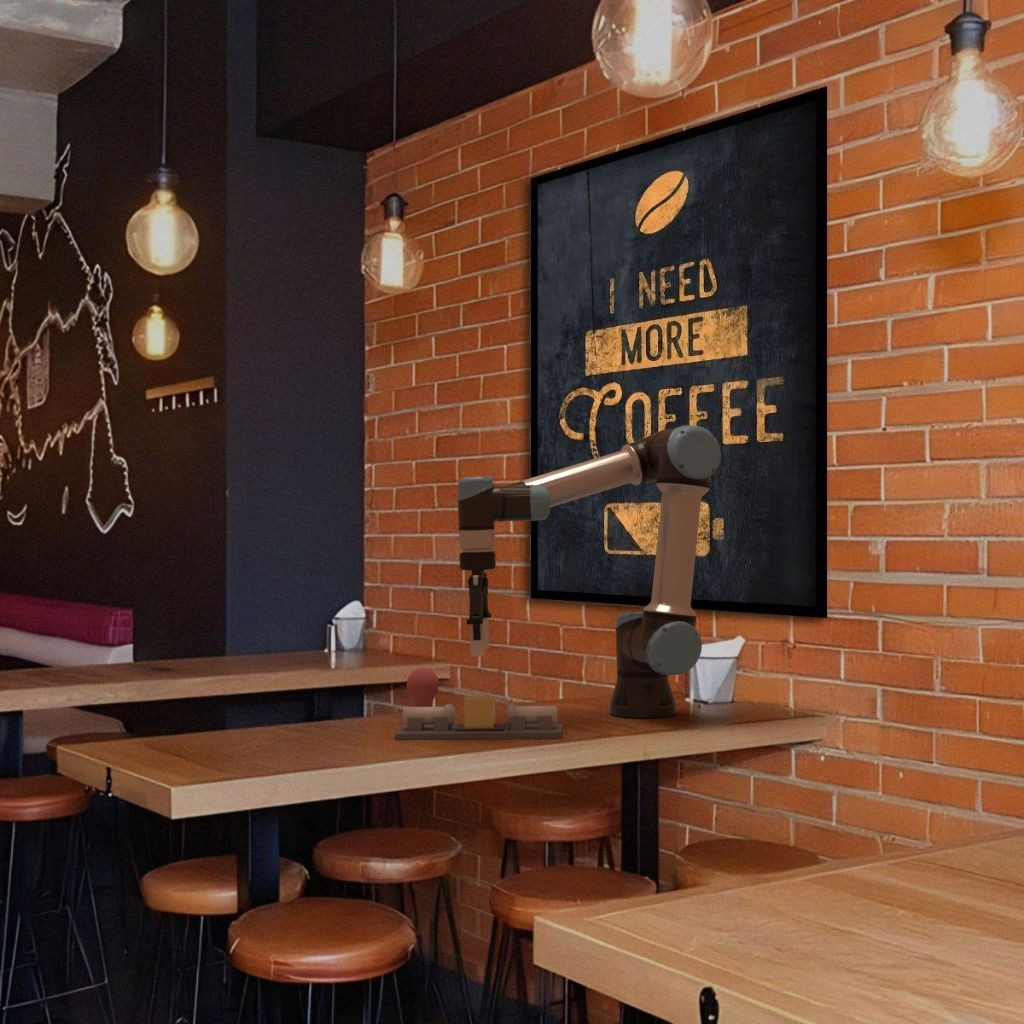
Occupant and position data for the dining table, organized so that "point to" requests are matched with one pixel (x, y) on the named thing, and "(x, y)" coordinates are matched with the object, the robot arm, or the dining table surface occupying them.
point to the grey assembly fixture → (512, 729)
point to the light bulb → (422, 687)
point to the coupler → (479, 712)
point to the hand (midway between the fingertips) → (480, 652)
